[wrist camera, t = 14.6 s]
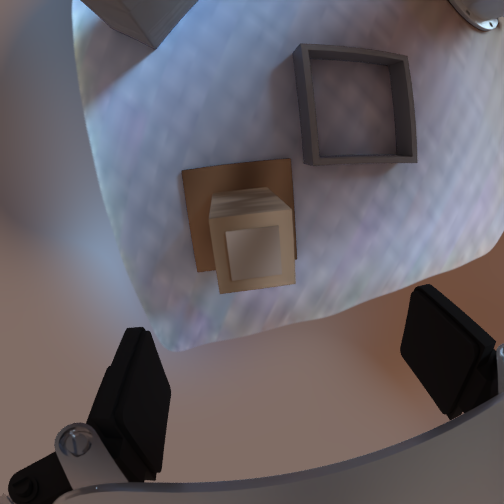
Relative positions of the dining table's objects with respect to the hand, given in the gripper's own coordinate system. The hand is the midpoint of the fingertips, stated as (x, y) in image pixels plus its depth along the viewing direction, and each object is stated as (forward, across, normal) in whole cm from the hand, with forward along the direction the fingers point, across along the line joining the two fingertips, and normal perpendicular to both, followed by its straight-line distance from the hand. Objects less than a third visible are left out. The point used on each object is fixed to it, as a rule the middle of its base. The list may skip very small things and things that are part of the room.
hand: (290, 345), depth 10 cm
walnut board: (+20, 0, 0) cm, 20 cm away
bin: (+20, -12, -10) cm, 25 cm away
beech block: (+20, 0, 0) cm, 20 cm away
